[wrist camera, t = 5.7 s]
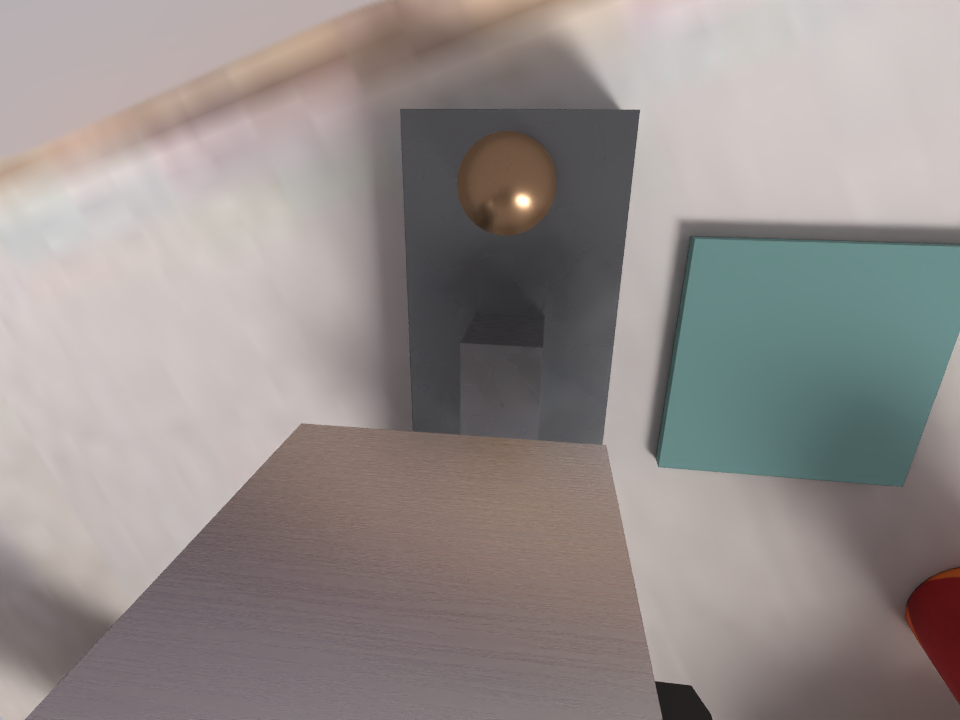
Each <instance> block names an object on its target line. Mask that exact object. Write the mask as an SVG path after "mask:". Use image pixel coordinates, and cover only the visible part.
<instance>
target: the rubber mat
mask: <svg viewBox="0 0 960 720" xmlns="http://www.w3.org/2000/svg"><path fill="white" fill-rule="evenodd" d="M959 332H960V244H934V243H900V242H867V241H833V240H800V239H766V238H733V237H699V236H691V239H690V245H689V251H688V258H687V264H686V270H685V277H684V283H683V290H682V296H681V302H680V309H679V315H678V321H677V328H676V334H675V340H674V347H673V353H672V360H671V366H670V372H669V379H668V385H667V391H666V398H665V404H664V411H663V417H662V423H661V430H660V436H659V442H658V449H657V455H656V461H657V464H658V467H663V468H675V469H688V470H700V471H713V472H725V473H738V474H750V475H763V476H775V477H788V478H800V479H813V480H825V481H838V482H850V483H863V484H875V485H888V486H900V487H903V485H904V482H905V479H906V477H907V474H908V471H909V468H910V466H911V463H912V460H913V457H914V455H915V452H916V449H917V447H918V444H919V441H920V438H921V436H922V433H923V430H924V427H925V425H926V422H927V419H928V416H929V414H930V411H931V408H932V406H933V403H934V400H935V397H936V395H937V392H938V389H939V386H940V384H941V381H942V378H943V375H944V373H945V370H946V367H947V365H948V362H949V359H950V356H951V354H952V351H953V348H954V345H955V343H956V340H957V337H958V335H959Z"/></svg>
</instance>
